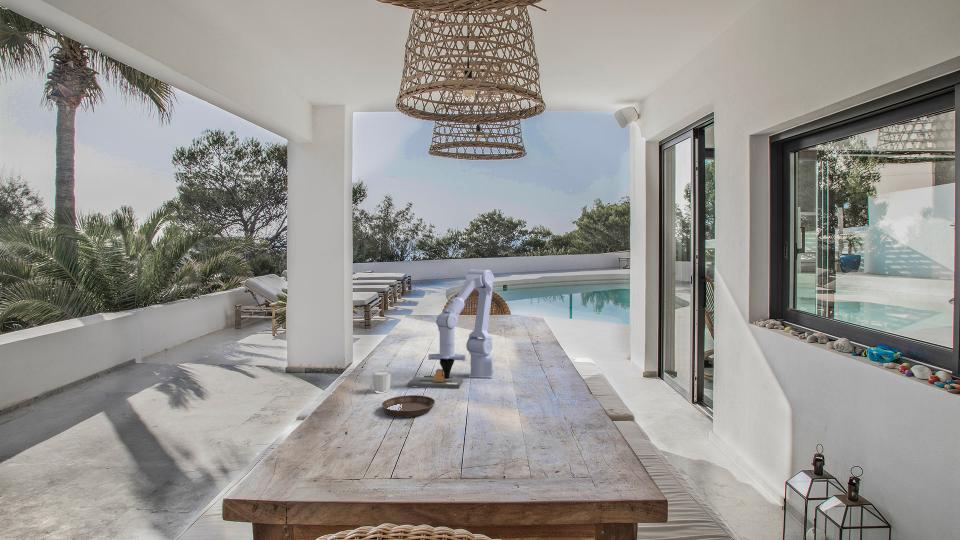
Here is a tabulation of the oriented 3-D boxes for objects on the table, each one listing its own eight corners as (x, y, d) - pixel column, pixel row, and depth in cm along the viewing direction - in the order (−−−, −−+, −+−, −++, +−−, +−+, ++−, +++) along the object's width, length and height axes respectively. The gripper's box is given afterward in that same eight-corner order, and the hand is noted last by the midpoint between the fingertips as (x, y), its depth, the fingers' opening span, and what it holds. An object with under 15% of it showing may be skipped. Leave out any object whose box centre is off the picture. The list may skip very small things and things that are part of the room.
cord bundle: (452, 378, 239) (452, 376, 239) (451, 380, 236) (451, 377, 236) (423, 378, 240) (423, 375, 240) (422, 379, 238) (422, 377, 238)
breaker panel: (463, 382, 234) (463, 378, 233) (458, 388, 224) (458, 384, 224) (414, 380, 236) (414, 376, 236) (407, 387, 226) (407, 382, 226)
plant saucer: (385, 421, 186) (385, 412, 186) (379, 406, 203) (378, 397, 202) (440, 416, 191) (440, 407, 190) (429, 401, 208) (429, 393, 207)
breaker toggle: (446, 378, 232) (446, 368, 232) (443, 381, 227) (443, 371, 227) (436, 378, 232) (436, 368, 232) (433, 381, 227) (433, 371, 227)
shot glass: (393, 389, 224) (393, 371, 223) (388, 394, 217) (388, 375, 216) (375, 388, 224) (375, 370, 224) (370, 393, 217) (370, 374, 217)
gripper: (426, 345, 225) (426, 380, 226) (463, 346, 223) (464, 381, 224) (430, 341, 232) (430, 375, 233) (466, 342, 230) (466, 376, 231)
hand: (447, 378), depth 229 cm, fingers closed
